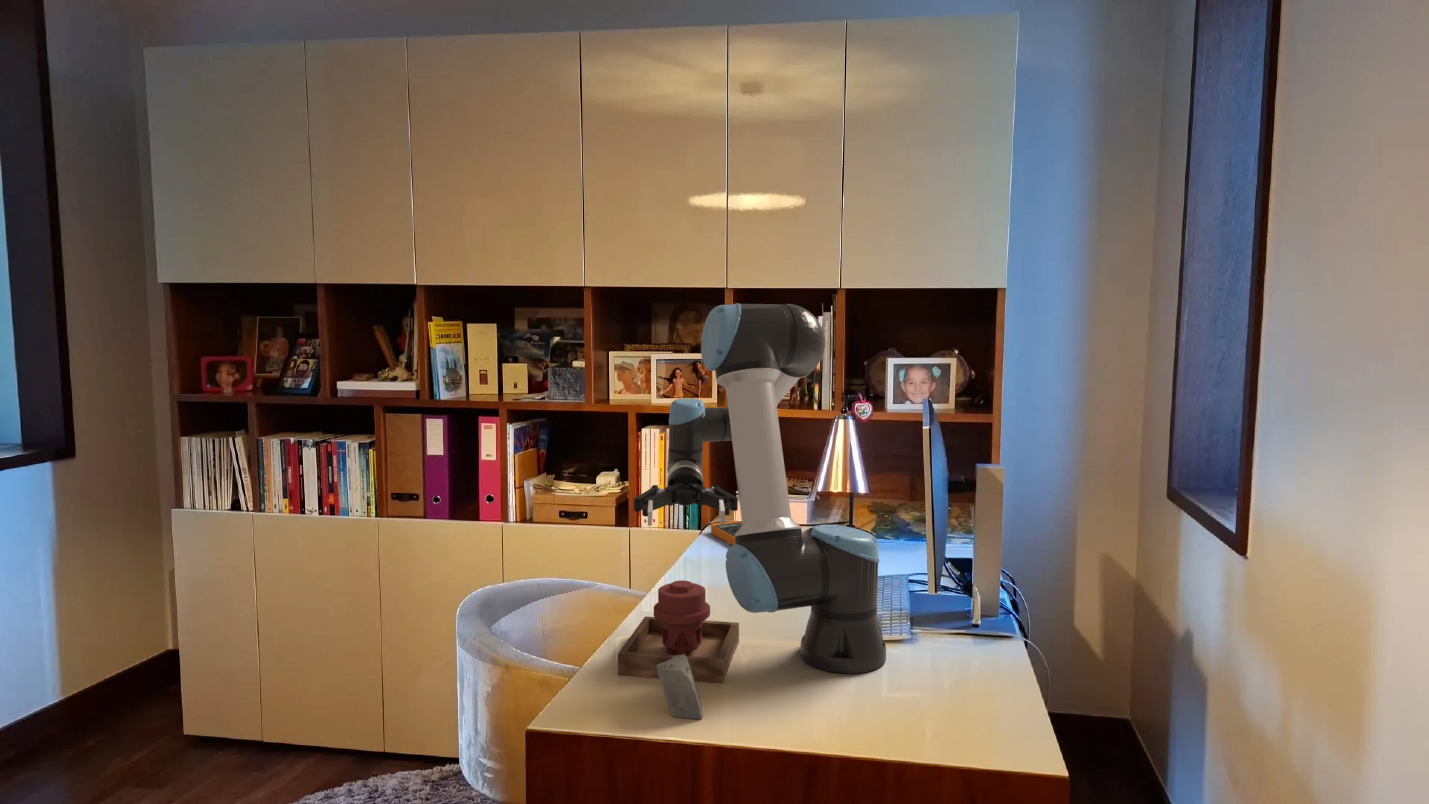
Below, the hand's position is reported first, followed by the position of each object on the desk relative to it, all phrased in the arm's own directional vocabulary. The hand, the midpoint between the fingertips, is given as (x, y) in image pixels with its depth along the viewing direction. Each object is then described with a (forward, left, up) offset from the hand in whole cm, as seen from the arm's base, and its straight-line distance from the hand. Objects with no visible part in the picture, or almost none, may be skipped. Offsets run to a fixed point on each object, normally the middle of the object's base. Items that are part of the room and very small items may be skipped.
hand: (686, 518), depth 163 cm
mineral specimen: (-25, +17, -23) cm, 38 cm away
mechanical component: (-8, +6, -22) cm, 24 cm away
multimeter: (+49, -48, -23) cm, 72 cm away
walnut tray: (-8, +6, -23) cm, 25 cm away
